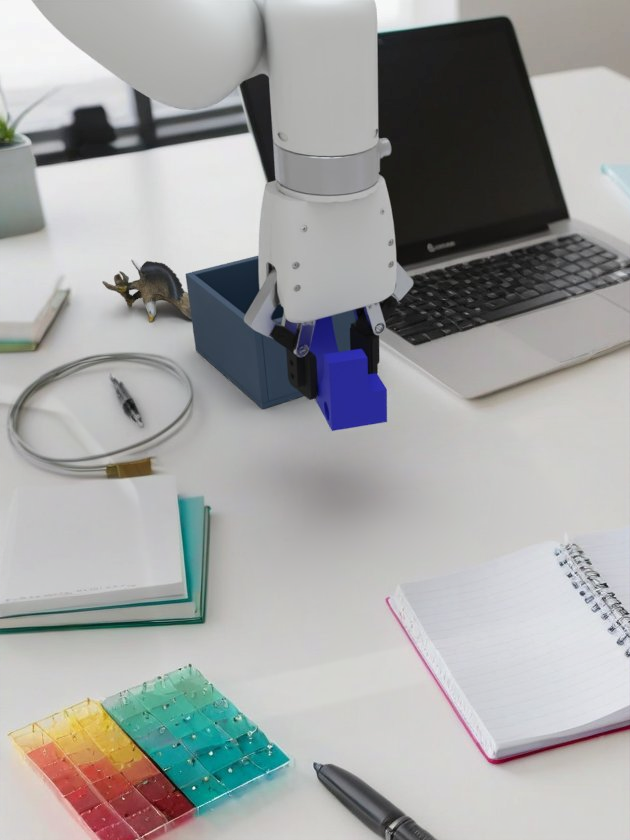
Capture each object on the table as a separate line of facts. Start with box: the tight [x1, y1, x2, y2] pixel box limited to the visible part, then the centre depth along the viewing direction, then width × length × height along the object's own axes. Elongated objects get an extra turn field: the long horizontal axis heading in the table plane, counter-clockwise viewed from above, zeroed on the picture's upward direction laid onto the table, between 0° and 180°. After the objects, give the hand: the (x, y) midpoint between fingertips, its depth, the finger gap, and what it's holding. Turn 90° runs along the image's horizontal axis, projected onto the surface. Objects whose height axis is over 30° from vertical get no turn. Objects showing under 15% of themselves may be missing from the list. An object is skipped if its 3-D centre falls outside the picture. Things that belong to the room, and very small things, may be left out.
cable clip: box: [310, 316, 388, 432], centre depth 94 cm, size 12×4×6 cm, turn 23°
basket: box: [185, 254, 357, 410], centre depth 116 cm, size 11×14×9 cm
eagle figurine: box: [102, 259, 192, 323], centre depth 125 cm, size 8×7×9 cm
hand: (334, 380), depth 95 cm, fingers closed on cable clip, 5 cm apart
